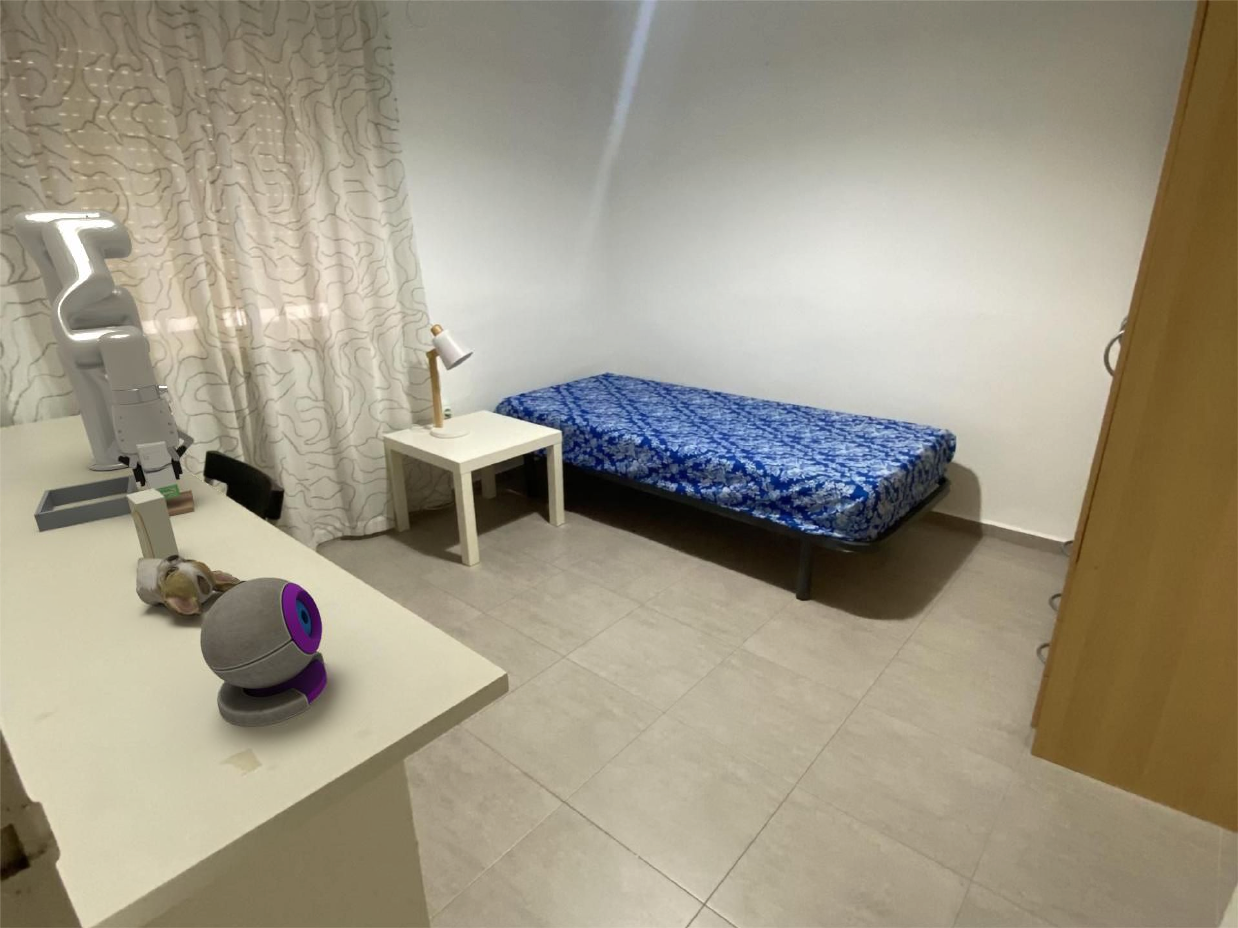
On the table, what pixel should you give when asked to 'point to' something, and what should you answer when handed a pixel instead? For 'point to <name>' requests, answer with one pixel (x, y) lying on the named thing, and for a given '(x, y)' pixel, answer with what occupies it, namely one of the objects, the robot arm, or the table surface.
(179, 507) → the pad
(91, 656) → the table surface
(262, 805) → the table surface
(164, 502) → the skincare box
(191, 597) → the ceramic sculpture
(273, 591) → the webcam
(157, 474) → the ink box
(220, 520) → the table surface
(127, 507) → the bin
